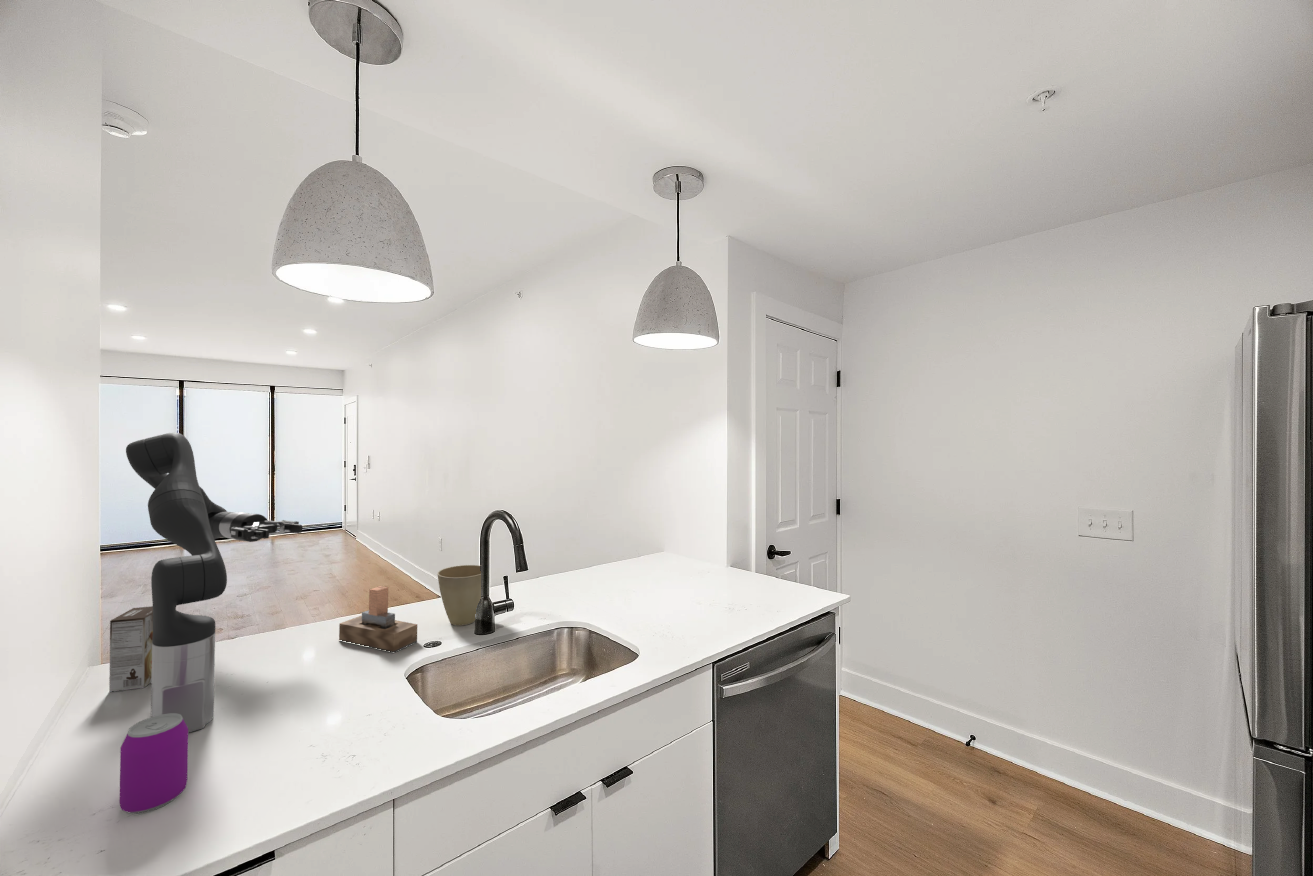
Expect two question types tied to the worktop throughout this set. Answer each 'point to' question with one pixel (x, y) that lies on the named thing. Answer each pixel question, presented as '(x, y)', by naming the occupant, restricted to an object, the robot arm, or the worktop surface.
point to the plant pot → (460, 592)
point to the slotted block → (378, 634)
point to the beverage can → (153, 763)
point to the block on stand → (378, 609)
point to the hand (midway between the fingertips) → (284, 531)
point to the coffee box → (131, 649)
